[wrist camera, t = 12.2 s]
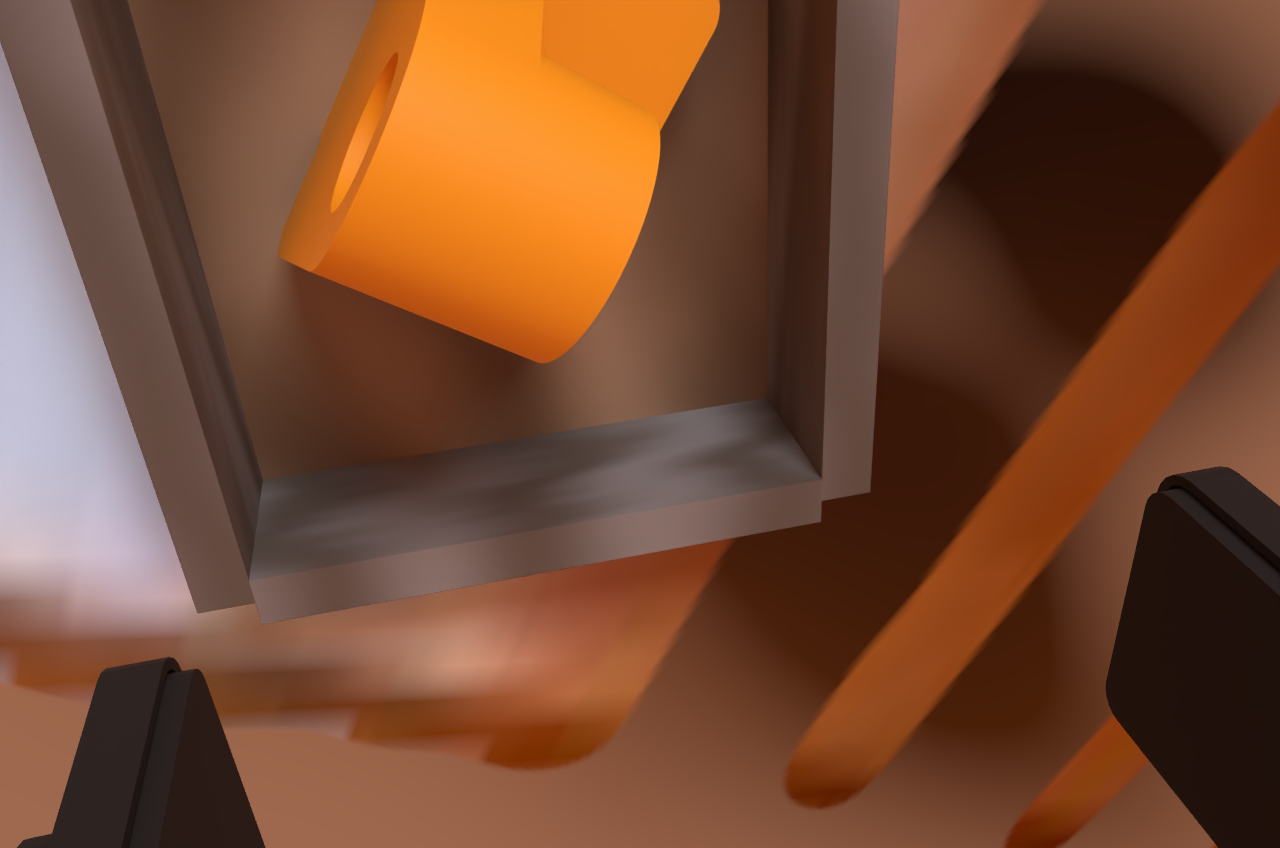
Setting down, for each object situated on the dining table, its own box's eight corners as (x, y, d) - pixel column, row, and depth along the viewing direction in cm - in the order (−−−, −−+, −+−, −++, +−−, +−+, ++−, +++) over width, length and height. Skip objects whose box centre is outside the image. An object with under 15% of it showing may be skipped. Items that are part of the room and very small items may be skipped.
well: (833, -452, 26) (954, -513, 21) (811, 422, 38) (883, 523, 33) (-82, -417, 23) (-214, -479, 17) (215, 523, 35) (190, 652, 30)
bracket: (524, 319, 33) (598, 560, 22) (283, 220, 30) (244, 446, 19) (705, -24, 29) (893, 78, 19) (452, -177, 26) (511, -154, 16)
